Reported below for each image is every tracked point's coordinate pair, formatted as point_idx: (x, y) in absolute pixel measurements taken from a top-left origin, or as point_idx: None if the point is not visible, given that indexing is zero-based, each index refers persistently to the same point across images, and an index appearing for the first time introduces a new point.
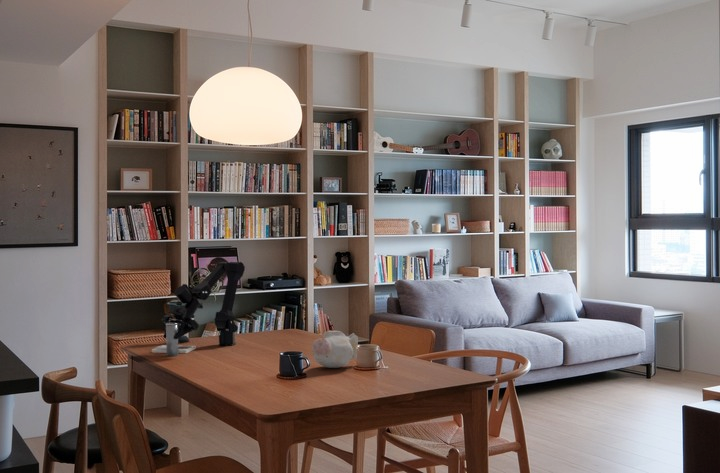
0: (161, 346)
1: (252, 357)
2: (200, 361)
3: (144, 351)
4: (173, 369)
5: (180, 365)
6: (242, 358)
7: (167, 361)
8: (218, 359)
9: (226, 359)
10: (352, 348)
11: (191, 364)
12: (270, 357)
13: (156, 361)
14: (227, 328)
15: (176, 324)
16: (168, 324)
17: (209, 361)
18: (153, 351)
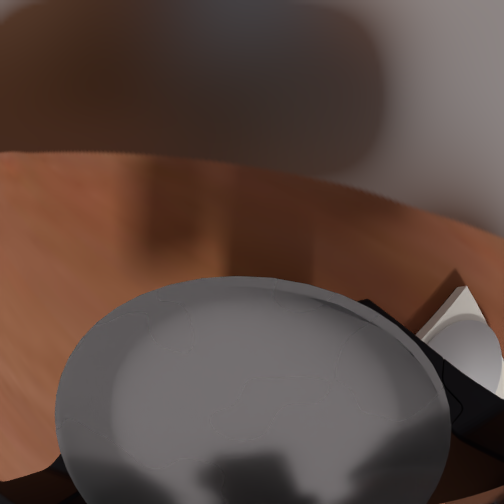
0: (490, 372)
1: (14, 470)
2: (19, 319)
3: (498, 272)
4: (8, 158)
5: (20, 206)
6: (9, 446)
7: (109, 202)
8: (19, 396)
9: (10, 409)
10: None
11: (6, 250)
12: (4, 481)
13: (154, 158)
14: None
15: (90, 476)
16: (146, 300)
17: (6, 342)
18: (453, 294)
